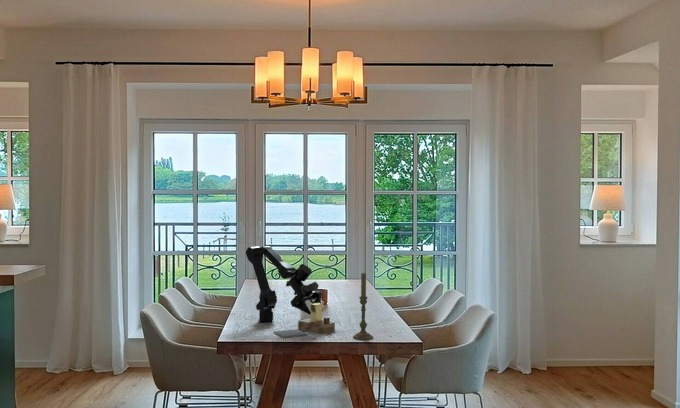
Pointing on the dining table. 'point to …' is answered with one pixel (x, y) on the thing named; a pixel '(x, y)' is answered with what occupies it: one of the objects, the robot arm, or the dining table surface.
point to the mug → (303, 314)
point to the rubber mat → (290, 333)
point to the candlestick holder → (363, 312)
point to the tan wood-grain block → (316, 312)
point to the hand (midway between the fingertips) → (316, 312)
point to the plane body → (317, 325)
